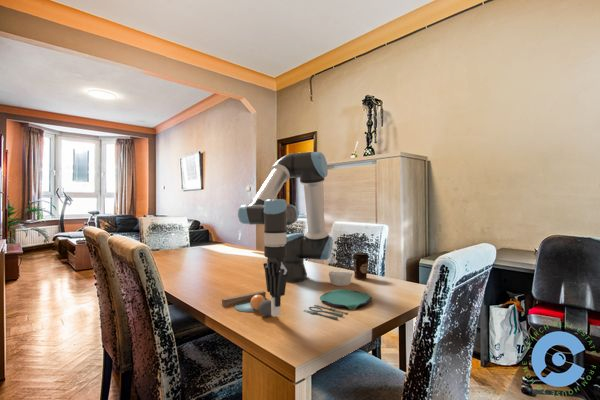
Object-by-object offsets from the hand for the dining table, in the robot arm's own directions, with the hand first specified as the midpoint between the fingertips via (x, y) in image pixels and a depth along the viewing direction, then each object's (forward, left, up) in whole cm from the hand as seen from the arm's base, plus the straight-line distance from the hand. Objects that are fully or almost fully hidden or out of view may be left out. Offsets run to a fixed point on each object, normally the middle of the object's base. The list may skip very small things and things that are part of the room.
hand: (275, 315), depth 103 cm
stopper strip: (+8, -23, -2) cm, 24 cm away
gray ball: (+2, -5, +1) cm, 6 cm away
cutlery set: (-27, -10, -3) cm, 29 cm away
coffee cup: (-53, -43, -2) cm, 68 cm away
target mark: (+6, -17, -2) cm, 18 cm away
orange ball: (+4, -12, +1) cm, 13 cm away
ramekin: (-39, -37, -2) cm, 54 cm away
